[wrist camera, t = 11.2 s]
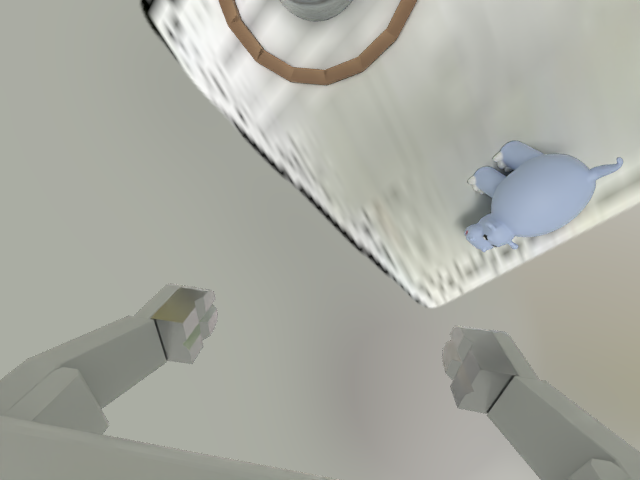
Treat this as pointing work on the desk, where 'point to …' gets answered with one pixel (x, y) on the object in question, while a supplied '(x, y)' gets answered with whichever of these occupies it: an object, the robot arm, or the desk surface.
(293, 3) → the metal cover
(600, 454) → the robot arm
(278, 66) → the locating ring
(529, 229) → the hippopotamus toy
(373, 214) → the desk surface
